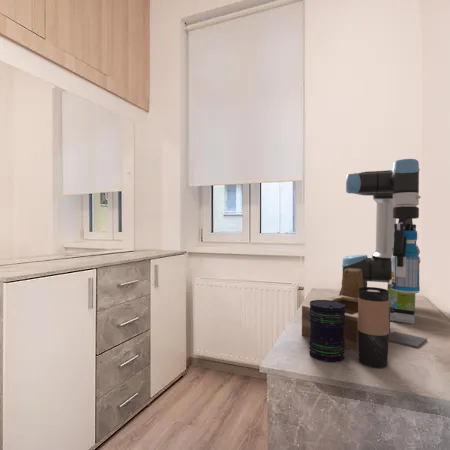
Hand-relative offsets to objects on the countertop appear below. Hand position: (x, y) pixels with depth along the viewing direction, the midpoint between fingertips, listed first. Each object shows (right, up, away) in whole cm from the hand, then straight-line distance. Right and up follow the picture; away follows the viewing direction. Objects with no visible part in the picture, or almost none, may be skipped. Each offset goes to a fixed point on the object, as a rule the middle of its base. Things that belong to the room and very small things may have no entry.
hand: (405, 275), depth 104 cm
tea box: (+13, -22, +26) cm, 37 cm away
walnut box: (-17, -21, +6) cm, 28 cm away
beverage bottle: (0, -5, 0) cm, 5 cm away
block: (-6, -22, +27) cm, 35 cm away
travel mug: (-19, -21, -18) cm, 34 cm away
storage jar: (-30, -21, -13) cm, 39 cm away
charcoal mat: (0, -21, 0) cm, 21 cm away
